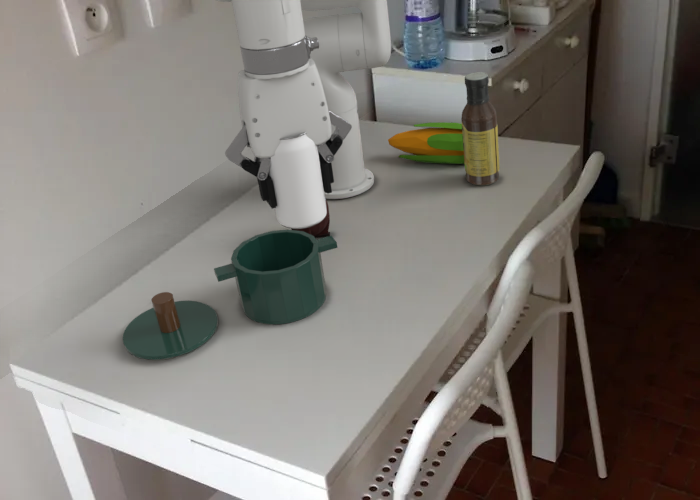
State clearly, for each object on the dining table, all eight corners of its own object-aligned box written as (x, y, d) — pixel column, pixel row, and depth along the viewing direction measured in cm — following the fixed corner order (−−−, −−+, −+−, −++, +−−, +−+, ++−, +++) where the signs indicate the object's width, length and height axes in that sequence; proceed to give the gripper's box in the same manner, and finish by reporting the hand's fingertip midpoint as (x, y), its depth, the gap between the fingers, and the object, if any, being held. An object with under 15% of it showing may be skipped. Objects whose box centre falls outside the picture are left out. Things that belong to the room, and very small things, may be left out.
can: (321, 230, 99) (307, 139, 93) (271, 230, 100) (254, 141, 94) (332, 205, 104) (319, 118, 98) (284, 206, 106) (269, 120, 100)
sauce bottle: (478, 169, 152) (473, 66, 142) (506, 176, 148) (503, 71, 138) (458, 182, 148) (451, 77, 138) (486, 190, 144) (482, 82, 134)
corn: (481, 130, 148) (379, 127, 155) (482, 169, 151) (382, 165, 158) (490, 118, 154) (391, 116, 161) (491, 156, 157) (394, 152, 164)
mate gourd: (292, 229, 139) (278, 149, 132) (337, 224, 139) (326, 144, 132) (290, 251, 133) (275, 168, 126) (337, 245, 132) (325, 162, 125)
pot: (217, 296, 123) (205, 248, 119) (327, 264, 128) (320, 217, 123) (235, 339, 113) (223, 288, 108) (355, 303, 117) (348, 252, 113)
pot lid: (119, 323, 120) (108, 288, 117) (208, 297, 123) (200, 263, 120) (130, 374, 108) (118, 337, 105) (228, 344, 112) (219, 307, 109)
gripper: (335, 34, 97) (352, 169, 106) (194, 64, 93) (225, 203, 102) (357, 47, 91) (373, 190, 100) (208, 81, 87) (239, 227, 95)
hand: (298, 195), depth 101 cm, fingers closed on can, 6 cm apart
